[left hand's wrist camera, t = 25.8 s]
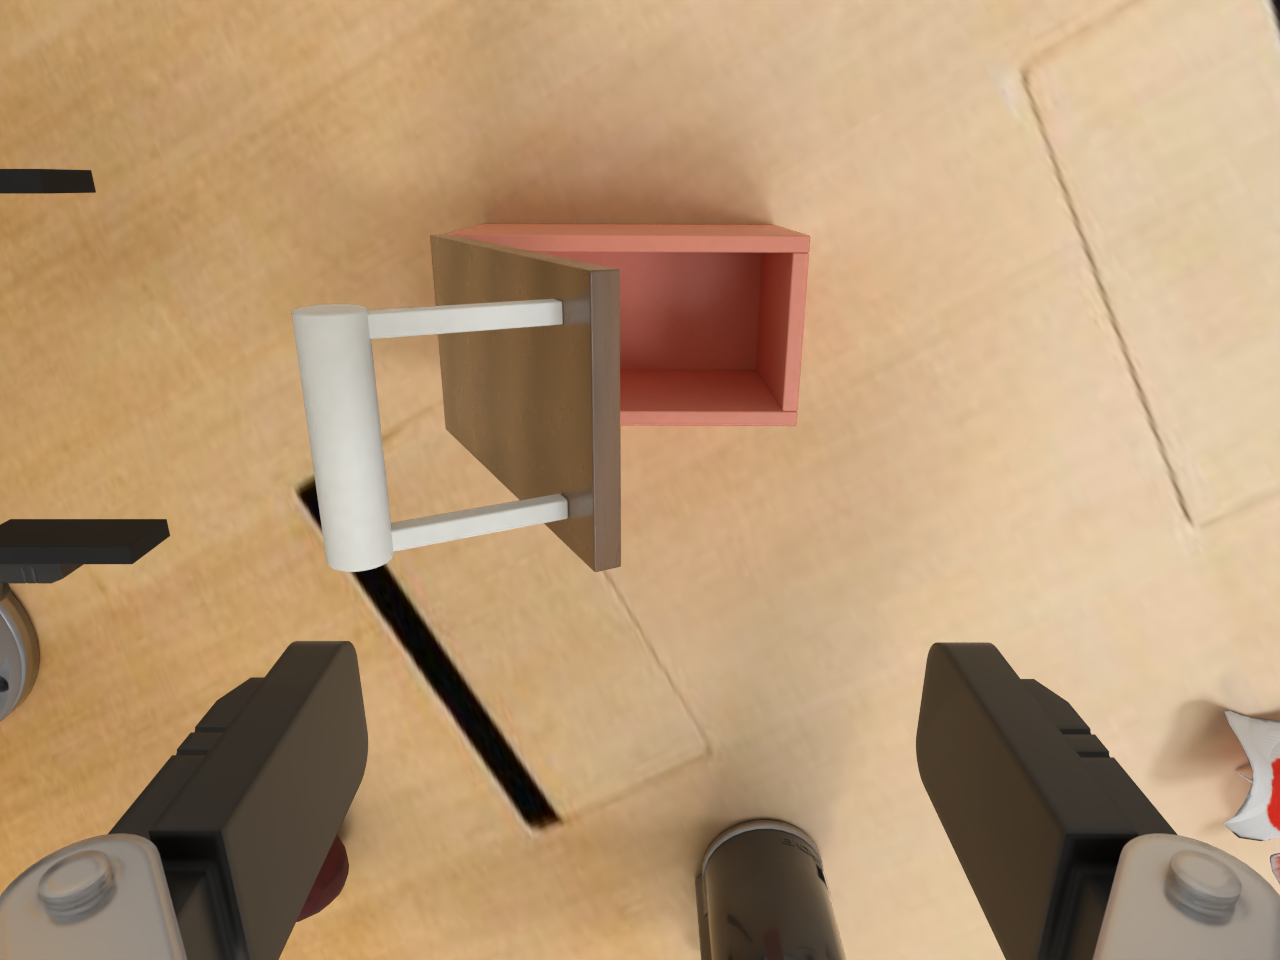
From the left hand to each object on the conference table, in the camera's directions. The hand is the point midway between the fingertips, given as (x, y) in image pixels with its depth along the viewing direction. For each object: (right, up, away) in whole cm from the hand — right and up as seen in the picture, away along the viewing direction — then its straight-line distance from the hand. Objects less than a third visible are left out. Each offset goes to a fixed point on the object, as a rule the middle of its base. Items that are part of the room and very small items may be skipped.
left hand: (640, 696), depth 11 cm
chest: (-1, +14, +38) cm, 41 cm away
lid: (-5, +7, +20) cm, 22 cm away
